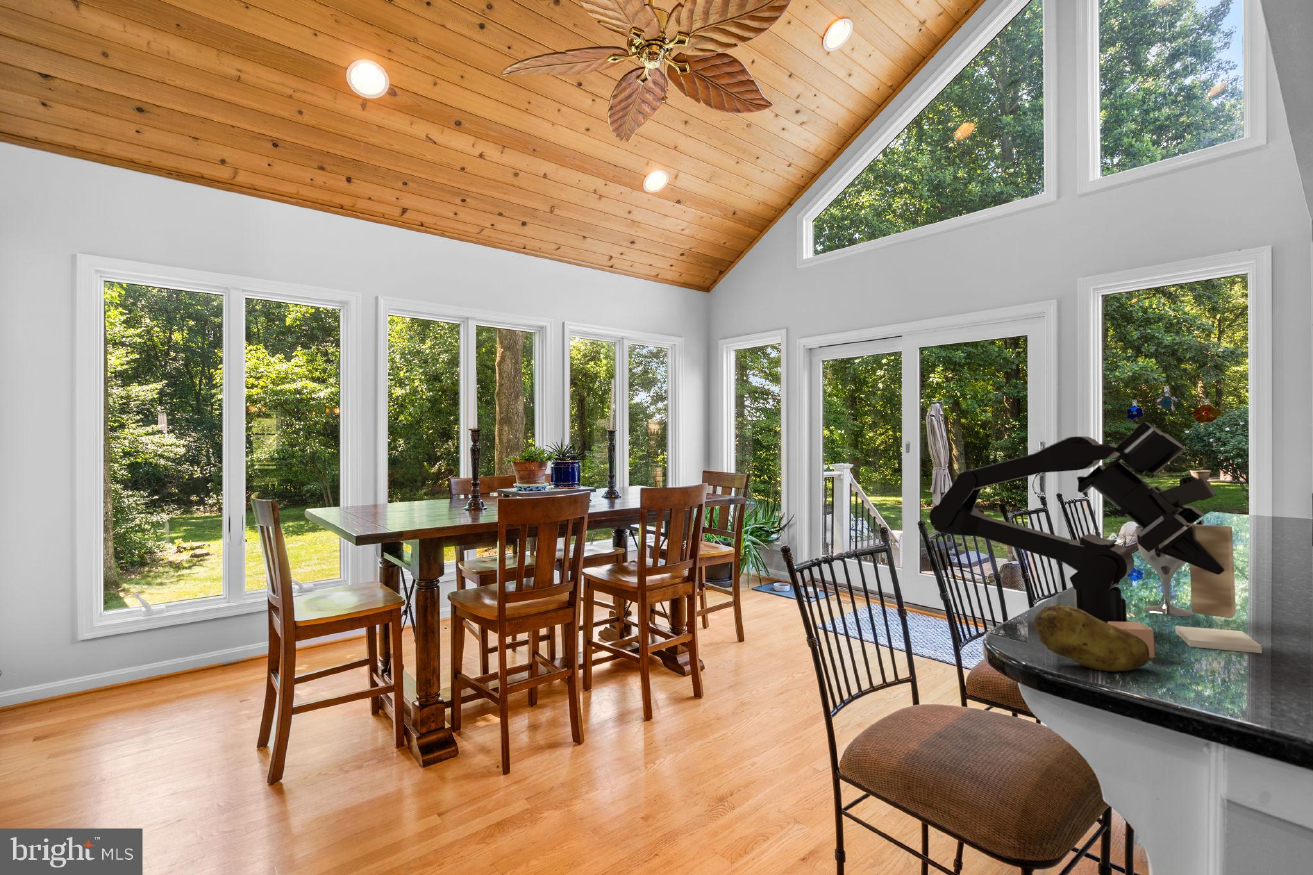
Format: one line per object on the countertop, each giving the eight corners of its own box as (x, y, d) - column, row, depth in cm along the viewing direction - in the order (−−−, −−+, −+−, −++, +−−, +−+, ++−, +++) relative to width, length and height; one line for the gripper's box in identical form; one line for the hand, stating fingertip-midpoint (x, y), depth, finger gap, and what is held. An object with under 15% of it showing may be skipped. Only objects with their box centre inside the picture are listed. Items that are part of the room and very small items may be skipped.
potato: (1149, 685, 79) (1146, 621, 79) (1031, 666, 87) (1028, 608, 87) (1151, 666, 85) (1147, 607, 85) (1041, 650, 93) (1038, 596, 93)
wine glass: (1209, 616, 108) (1204, 529, 108) (1163, 617, 108) (1158, 530, 108) (1172, 605, 116) (1167, 524, 116) (1129, 606, 116) (1124, 525, 116)
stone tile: (1189, 646, 92) (1189, 639, 92) (1175, 632, 100) (1175, 625, 100) (1261, 653, 89) (1261, 646, 89) (1241, 637, 96) (1241, 631, 96)
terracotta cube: (1122, 656, 89) (1121, 628, 90) (1109, 648, 93) (1107, 621, 93) (1154, 657, 89) (1153, 629, 89) (1139, 649, 92) (1138, 622, 93)
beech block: (1191, 612, 94) (1188, 527, 95) (1196, 607, 97) (1193, 524, 98) (1232, 618, 91) (1228, 529, 91) (1235, 612, 94) (1232, 526, 94)
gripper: (1161, 460, 91) (1269, 543, 83) (1184, 457, 104) (1280, 528, 95) (1099, 511, 97) (1195, 593, 89) (1128, 502, 110) (1214, 573, 101)
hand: (1223, 570), depth 93 cm, fingers closed on beech block, 4 cm apart
